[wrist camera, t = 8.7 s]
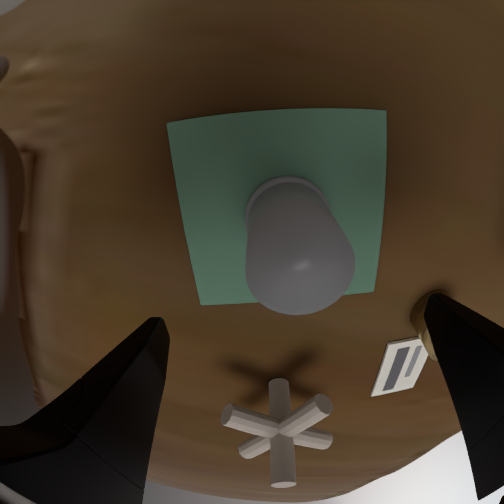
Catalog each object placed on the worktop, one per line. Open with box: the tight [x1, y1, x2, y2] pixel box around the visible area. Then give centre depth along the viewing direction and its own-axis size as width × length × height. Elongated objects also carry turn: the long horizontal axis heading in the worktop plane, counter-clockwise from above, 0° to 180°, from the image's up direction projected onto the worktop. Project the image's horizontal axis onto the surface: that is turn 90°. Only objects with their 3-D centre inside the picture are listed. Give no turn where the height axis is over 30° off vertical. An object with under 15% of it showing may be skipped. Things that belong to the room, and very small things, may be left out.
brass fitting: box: [410, 290, 451, 361], centre depth 19 cm, size 4×4×4 cm
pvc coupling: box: [245, 175, 355, 315], centre depth 14 cm, size 5×5×6 cm
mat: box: [167, 108, 387, 305], centre depth 17 cm, size 12×12×1 cm
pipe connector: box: [221, 378, 333, 488], centre depth 20 cm, size 10×10×10 cm
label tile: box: [371, 337, 428, 397], centre depth 24 cm, size 5×8×1 cm, turn 5°
